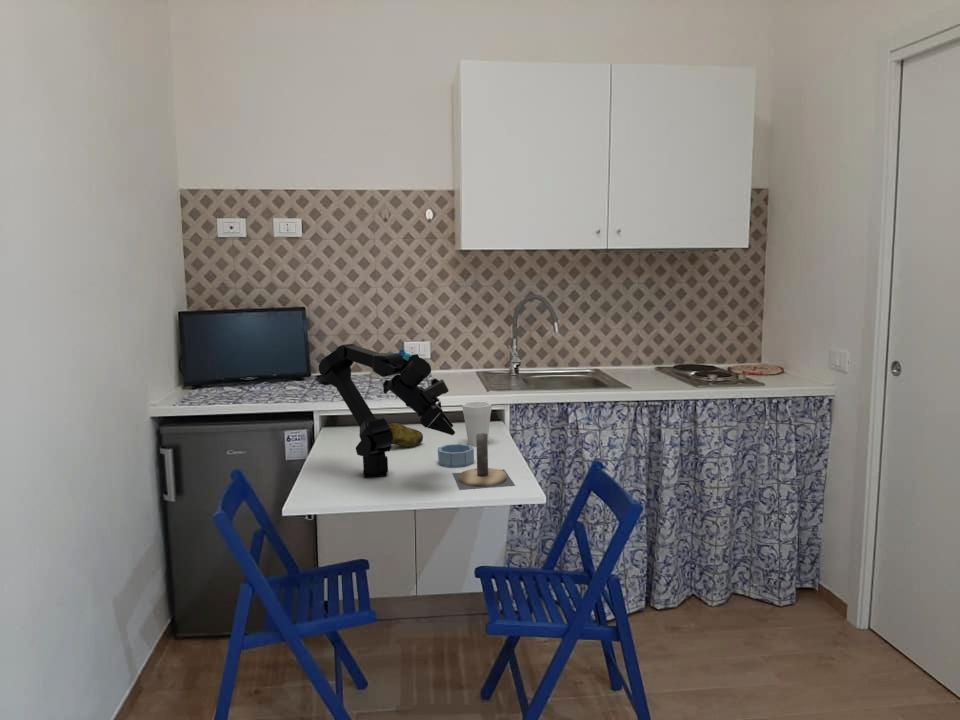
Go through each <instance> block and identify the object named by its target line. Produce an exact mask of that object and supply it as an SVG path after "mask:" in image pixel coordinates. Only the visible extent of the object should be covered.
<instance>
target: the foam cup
mask: <svg viewBox="0 0 960 720" xmlns="http://www.w3.org/2000/svg"><path fill="white" fill-rule="evenodd" d="M462 413H463V418H464V425H465V429H466V430H465V431H466V437H467V443H468V444H467V445H471V446H472V447H477V445H476V435H477V434H481V433H484V434H487V443H488V442H489V434H490V433H489V432H490V425H491V424H490V423H491V415H492V403H491V402H488V401H481V400H480V401H468V402H464V403H462Z"/></svg>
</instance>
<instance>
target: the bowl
mask: <svg viewBox="0 0 960 720" xmlns="http://www.w3.org/2000/svg"><path fill="white" fill-rule="evenodd" d="M474 451H475V450H474V446H472V445H469V444H463V443H454V444H453V443H451V444H449V443H448V444H444V445H442V446H439V447H438V448H437V460H438V463H439V465H440V466H441V467H445V468H462V467H463V468H464V467H467V466H471V465H472V464H473V462H474V461H475V453H474Z"/></svg>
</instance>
